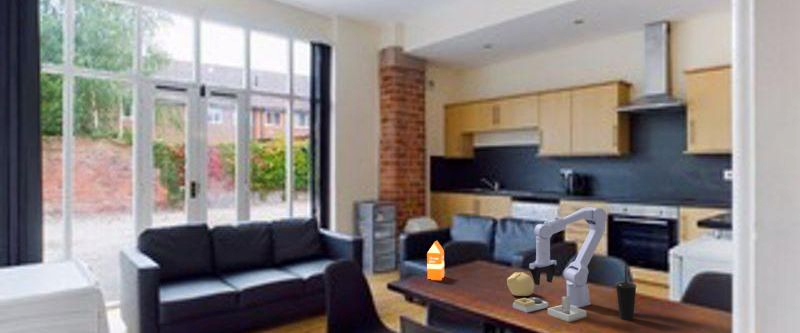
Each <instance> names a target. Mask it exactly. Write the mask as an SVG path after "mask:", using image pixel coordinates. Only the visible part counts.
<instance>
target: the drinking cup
mask: <svg viewBox="0 0 800 333" xmlns="http://www.w3.org/2000/svg"><path fill="white" fill-rule="evenodd" d="M627 270H628V269H627V268H625V267H624V280H621V281H617V282H616V283H615V284H614V285H615V286H616V295H617V304H618V312H619V319H621V320H623V321H633V320H634V315H635V314H634V313H635V304H636V289H637V284H636V283H634V282H631V281H628V272H627Z"/></svg>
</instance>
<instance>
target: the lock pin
mask: <svg viewBox="0 0 800 333" xmlns="http://www.w3.org/2000/svg"><path fill="white" fill-rule="evenodd" d="M561 305H562V313H565V314H568V315H569V314H570V297H569V296H567V295H562V296H561Z"/></svg>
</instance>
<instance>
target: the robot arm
mask: <svg viewBox="0 0 800 333" xmlns="http://www.w3.org/2000/svg"><path fill="white" fill-rule="evenodd" d="M581 220H584V221H585V222H586V224H587V225H588V226H589V233H588V234H587V236H586V238H585V240H584V242H583V244H582V246H581V248H580V250H579V251H578V254H577V256H576V258H575V260H574V261H572V262H569V264H568V266H567V267H566V268H565V269H564V270H563V273H562V275H563V278H564V279H565V280H566V282H565V283H566V296H569V297H570V306H573V307H576V308H579V309H580V308H582V307H586V306H589V305H591V304H592V303H591V302H590V288H589V286H588V284H586V283H587V280H588V275H589V269H588V266H589V264H590V262H591V259H592V258H593V256H594V254H595V251H596V250H597V248H598V246H599V243H600V242H601V240H602V238H603V236H604V233H605V231H606V223H607V220H608V215H607V212H606V210H604V209H603V208H601V207H594V206H584V207H581V208H580V209H579V210H576V211H574V212H573V213H570V214H569V215H567V216H564V217H561V216H554V217H553V219H551V220H548V221H544V222H543V223H538V224H536V226H534V229H533V231H532V232H533V234H534V236H535V246H536V247H535V252H536V254H535V260H534V261H533V262H531V263H529V266H528V267H529V268H528V271H529V272H530V275H531V276H532V280H533V282H534V285H535V286H540V283H541V274H542V271H543V270H542V269H540V268H544V269H545V273H546V282H547V283H550V284H551V283H552V282H553V278H554V276H555V273H556V271H557V269H558V266H557V260H556V259H551V238H552V236H553V235H554V234H557V233H559V232H561V231H563V230H565V229H566V226H568V225H571V224H573V223H575V222H578V221H581Z"/></svg>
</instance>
